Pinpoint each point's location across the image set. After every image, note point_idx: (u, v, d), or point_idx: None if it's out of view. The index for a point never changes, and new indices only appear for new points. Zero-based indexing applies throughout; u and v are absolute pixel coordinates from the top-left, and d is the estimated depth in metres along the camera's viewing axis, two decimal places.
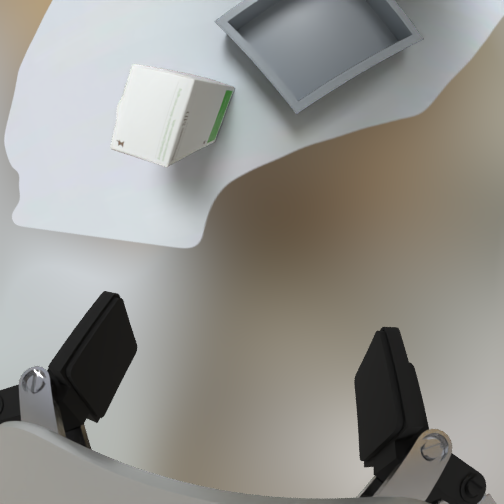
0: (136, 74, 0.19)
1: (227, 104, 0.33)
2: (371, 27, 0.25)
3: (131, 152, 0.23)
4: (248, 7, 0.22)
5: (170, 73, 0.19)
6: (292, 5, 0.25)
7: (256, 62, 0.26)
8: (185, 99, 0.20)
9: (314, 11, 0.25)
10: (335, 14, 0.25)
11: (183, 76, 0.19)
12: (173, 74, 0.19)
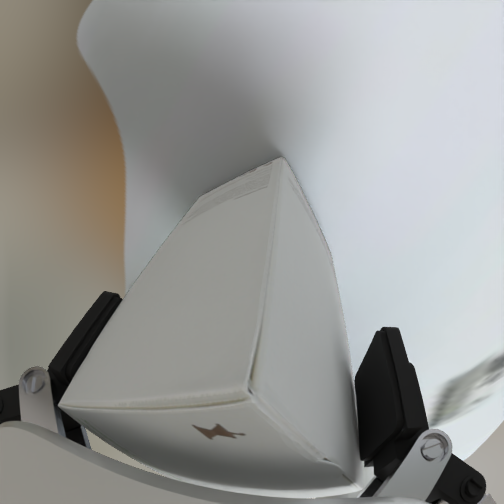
0: (333, 493, 0.07)
1: None
2: None
3: (145, 418, 0.04)
4: None
5: None
6: None
7: None
8: None
9: None
10: None
11: None
12: None
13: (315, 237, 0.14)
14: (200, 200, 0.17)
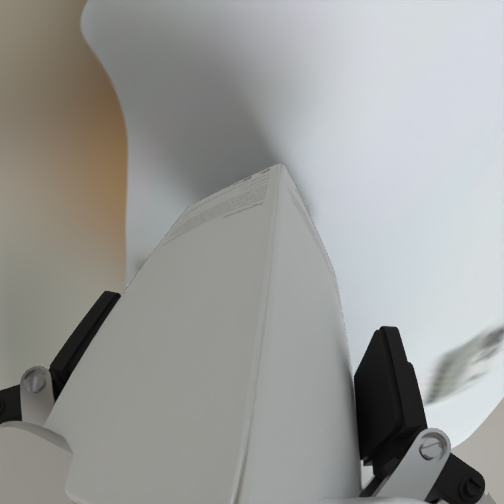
0: None
1: None
2: None
3: None
4: None
5: None
6: None
7: None
8: None
9: None
10: None
11: None
12: None
13: (319, 261, 0.11)
14: (187, 212, 0.15)
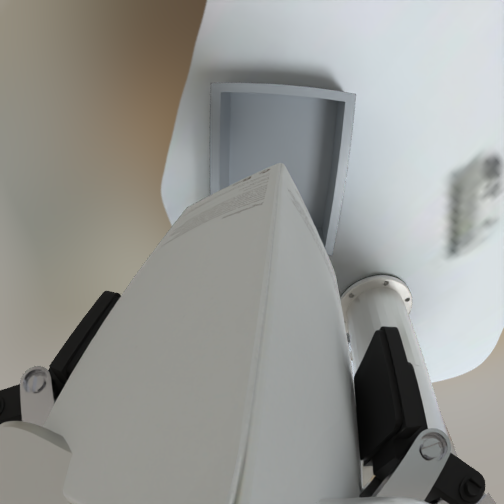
0: None
1: None
2: None
3: None
4: (342, 129, 0.26)
5: None
6: (319, 162, 0.32)
7: (284, 87, 0.24)
8: None
9: (299, 173, 0.33)
10: None
11: None
12: None
13: (319, 262, 0.11)
14: (187, 212, 0.15)
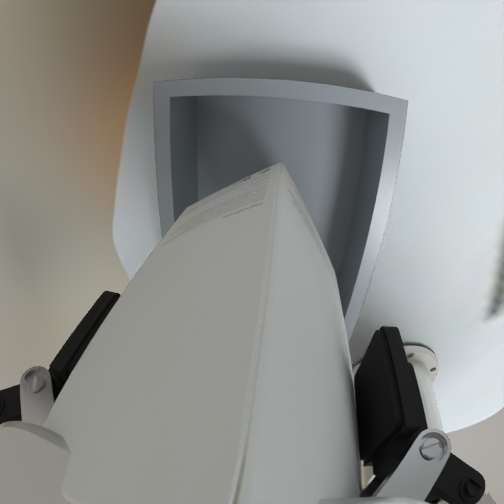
0: None
1: None
2: None
3: None
4: (381, 161, 0.15)
5: None
6: (336, 206, 0.21)
7: (280, 84, 0.13)
8: None
9: None
10: None
11: None
12: None
13: (319, 262, 0.11)
14: (186, 212, 0.15)
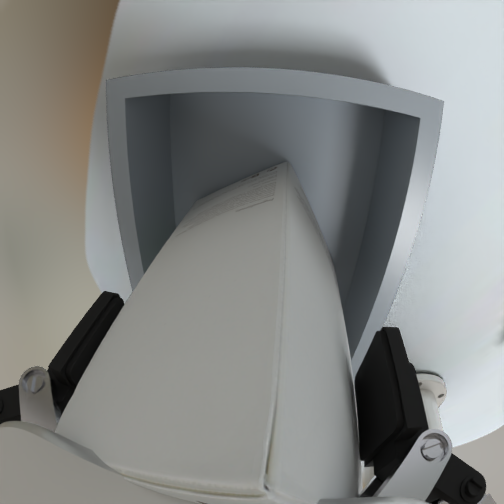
0: None
1: None
2: None
3: None
4: (407, 182, 0.11)
5: None
6: (342, 229, 0.17)
7: (271, 74, 0.09)
8: None
9: None
10: None
11: None
12: None
13: (322, 254, 0.12)
14: (197, 206, 0.16)
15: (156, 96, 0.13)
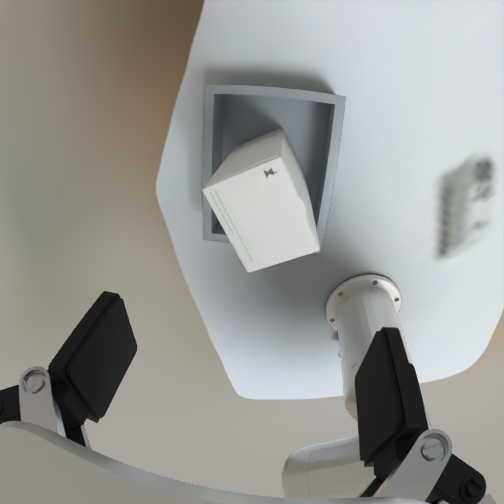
0: (306, 245, 0.22)
1: None
2: None
3: (248, 173, 0.19)
4: (331, 131, 0.27)
5: (272, 264, 0.23)
6: (310, 162, 0.33)
7: (275, 89, 0.25)
8: (240, 255, 0.23)
9: None
10: None
11: None
12: (269, 265, 0.23)
13: (296, 161, 0.28)
14: (238, 146, 0.32)
15: (221, 94, 0.29)
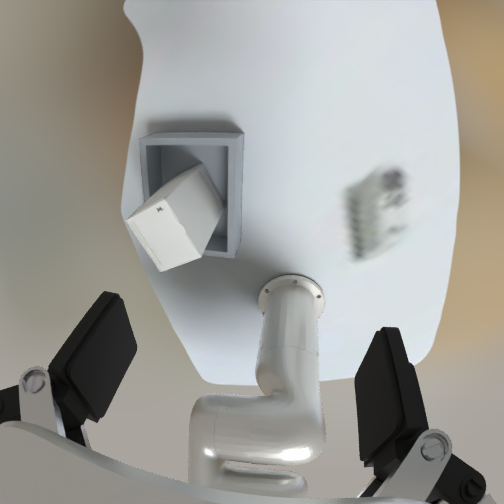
0: (191, 254, 0.33)
1: None
2: None
3: (148, 210, 0.30)
4: None
5: (174, 266, 0.34)
6: (225, 188, 0.44)
7: (185, 139, 0.36)
8: (153, 261, 0.34)
9: None
10: None
11: (166, 269, 0.35)
12: (172, 267, 0.34)
13: (204, 191, 0.40)
14: (170, 180, 0.43)
15: None
